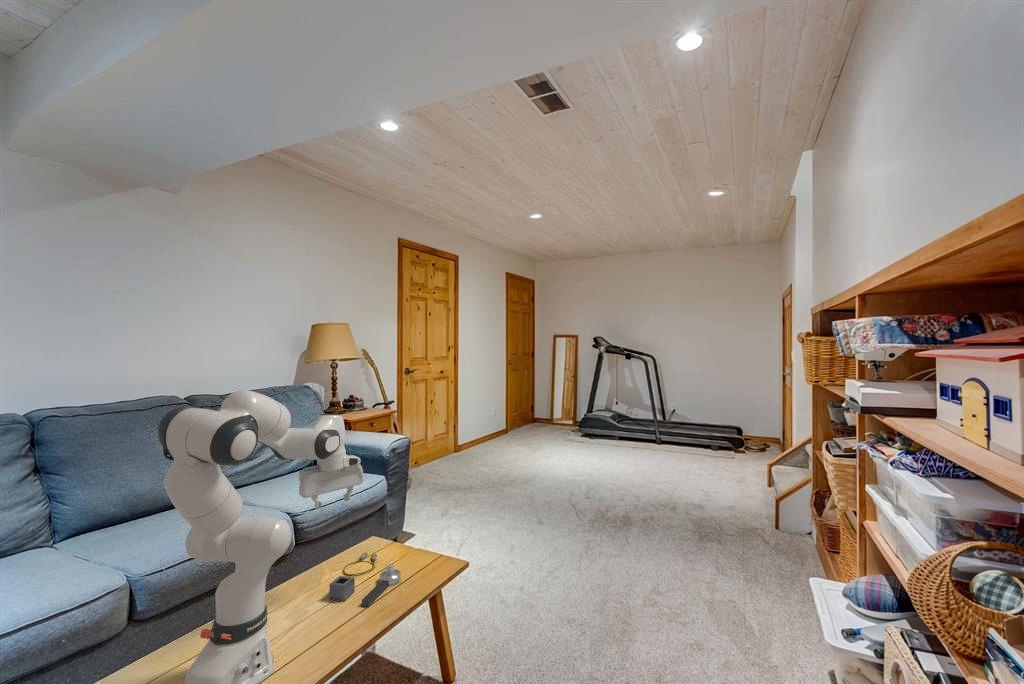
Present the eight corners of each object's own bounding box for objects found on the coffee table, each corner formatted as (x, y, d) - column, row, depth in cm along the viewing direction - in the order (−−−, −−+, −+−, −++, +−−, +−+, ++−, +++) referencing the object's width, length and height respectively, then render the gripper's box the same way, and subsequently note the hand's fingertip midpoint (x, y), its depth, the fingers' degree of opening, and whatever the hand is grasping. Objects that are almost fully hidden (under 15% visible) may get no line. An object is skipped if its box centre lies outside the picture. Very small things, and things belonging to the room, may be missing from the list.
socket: (344, 601, 150) (344, 586, 150) (329, 599, 151) (329, 584, 151) (354, 592, 155) (354, 577, 155) (339, 590, 156) (339, 575, 156)
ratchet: (375, 608, 146) (374, 590, 146) (355, 605, 147) (355, 588, 147) (404, 577, 165) (403, 561, 165) (386, 575, 166) (386, 560, 166)
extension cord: (389, 562, 177) (389, 556, 177) (356, 580, 164) (356, 575, 164) (367, 555, 184) (367, 550, 184) (334, 572, 170) (333, 567, 170)
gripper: (302, 471, 142) (303, 515, 142) (365, 457, 156) (366, 498, 156) (295, 467, 146) (296, 510, 147) (356, 454, 160) (357, 494, 161)
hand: (332, 504), depth 151 cm, fingers open, 8 cm apart
